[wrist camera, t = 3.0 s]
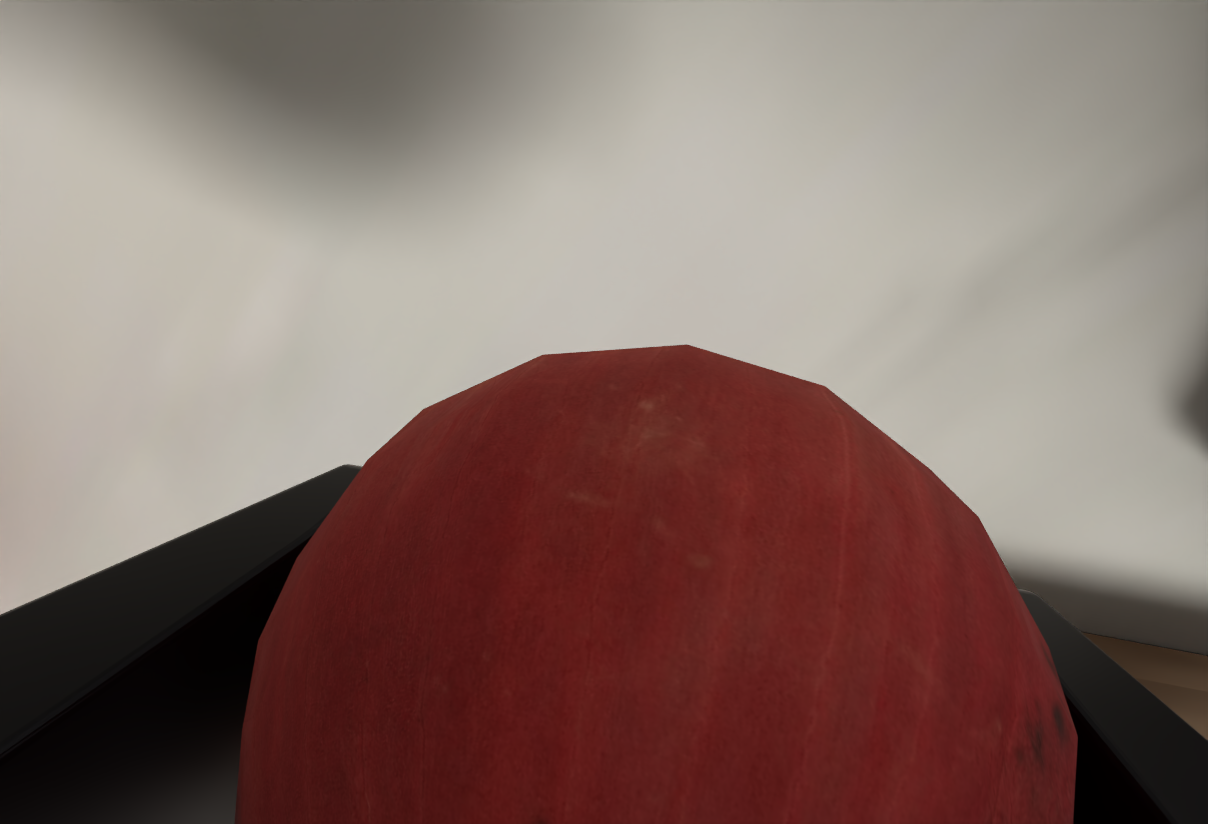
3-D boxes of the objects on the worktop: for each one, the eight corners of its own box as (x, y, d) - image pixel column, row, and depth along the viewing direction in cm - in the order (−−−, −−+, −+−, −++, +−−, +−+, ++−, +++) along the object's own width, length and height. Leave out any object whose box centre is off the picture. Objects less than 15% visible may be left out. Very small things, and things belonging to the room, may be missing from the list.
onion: (1048, 333, 8) (2786, 2418, 1) (819, 705, 11) (938, 1960, 4) (496, 154, 8) (-937, 1185, 1) (409, 572, 11) (-170, 1602, 4)
